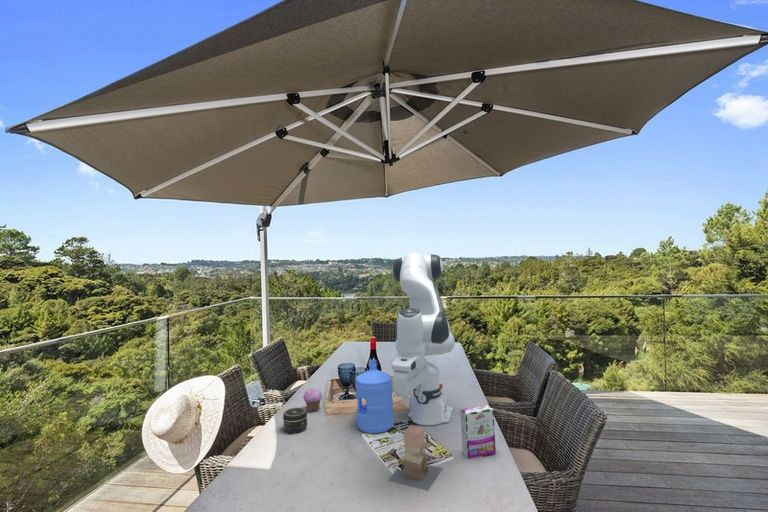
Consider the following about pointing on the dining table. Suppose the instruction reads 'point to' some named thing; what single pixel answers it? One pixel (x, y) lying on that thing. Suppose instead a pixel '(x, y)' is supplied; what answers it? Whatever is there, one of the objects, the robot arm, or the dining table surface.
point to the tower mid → (415, 454)
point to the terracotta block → (414, 436)
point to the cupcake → (312, 399)
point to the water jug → (374, 400)
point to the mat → (423, 484)
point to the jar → (295, 420)
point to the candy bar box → (478, 431)
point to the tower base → (416, 469)
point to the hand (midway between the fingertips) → (413, 400)
